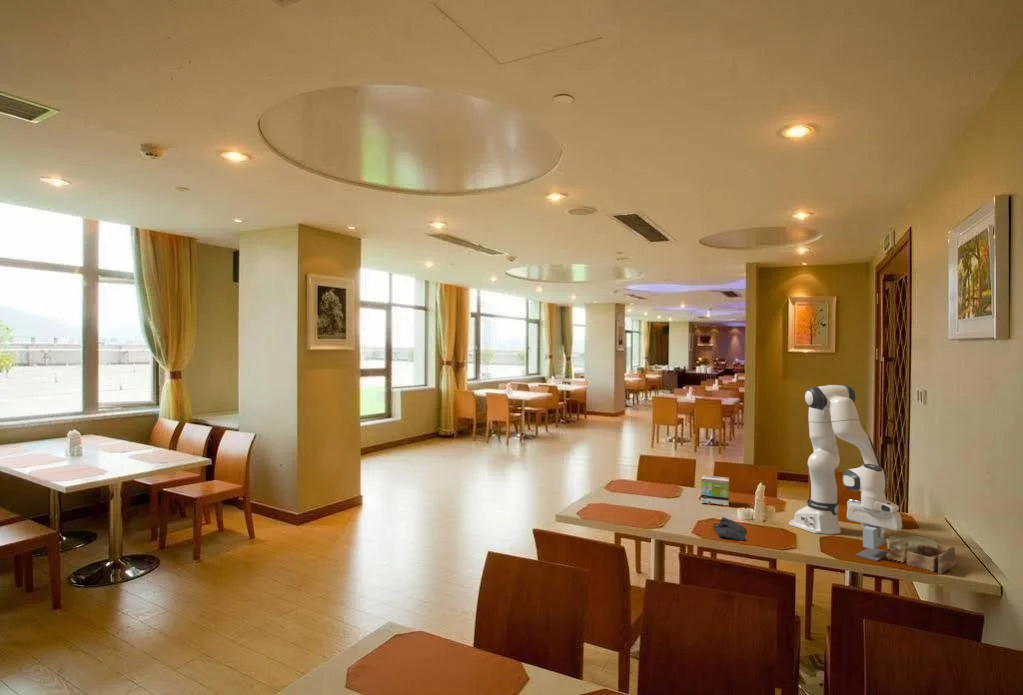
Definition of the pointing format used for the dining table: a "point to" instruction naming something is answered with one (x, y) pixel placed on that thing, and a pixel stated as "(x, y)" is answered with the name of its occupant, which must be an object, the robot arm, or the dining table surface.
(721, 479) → the tea box
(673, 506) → the dining table surface
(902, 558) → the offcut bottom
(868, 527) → the light blue rectangular block
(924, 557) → the rack
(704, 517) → the dining table surface
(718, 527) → the dark slate chunk
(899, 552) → the offcut middle
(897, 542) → the offcut top
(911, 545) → the decorative tile
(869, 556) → the mat
